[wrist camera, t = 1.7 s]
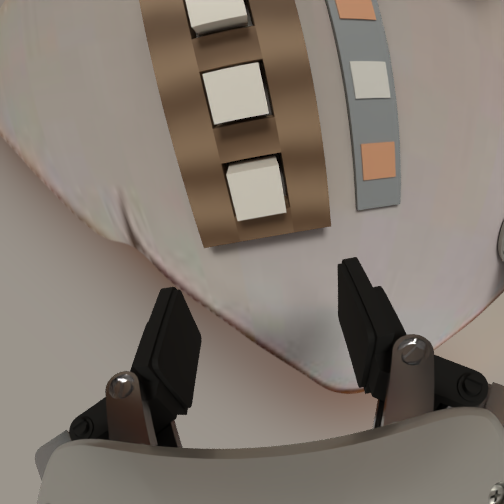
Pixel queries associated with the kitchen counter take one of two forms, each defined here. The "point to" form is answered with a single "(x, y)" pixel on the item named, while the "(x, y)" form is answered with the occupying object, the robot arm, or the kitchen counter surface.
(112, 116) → the kitchen counter surface
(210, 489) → the robot arm
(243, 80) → the button middle
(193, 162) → the button board
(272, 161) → the button
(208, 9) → the button
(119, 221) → the kitchen counter surface
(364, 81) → the pattern card
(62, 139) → the kitchen counter surface
